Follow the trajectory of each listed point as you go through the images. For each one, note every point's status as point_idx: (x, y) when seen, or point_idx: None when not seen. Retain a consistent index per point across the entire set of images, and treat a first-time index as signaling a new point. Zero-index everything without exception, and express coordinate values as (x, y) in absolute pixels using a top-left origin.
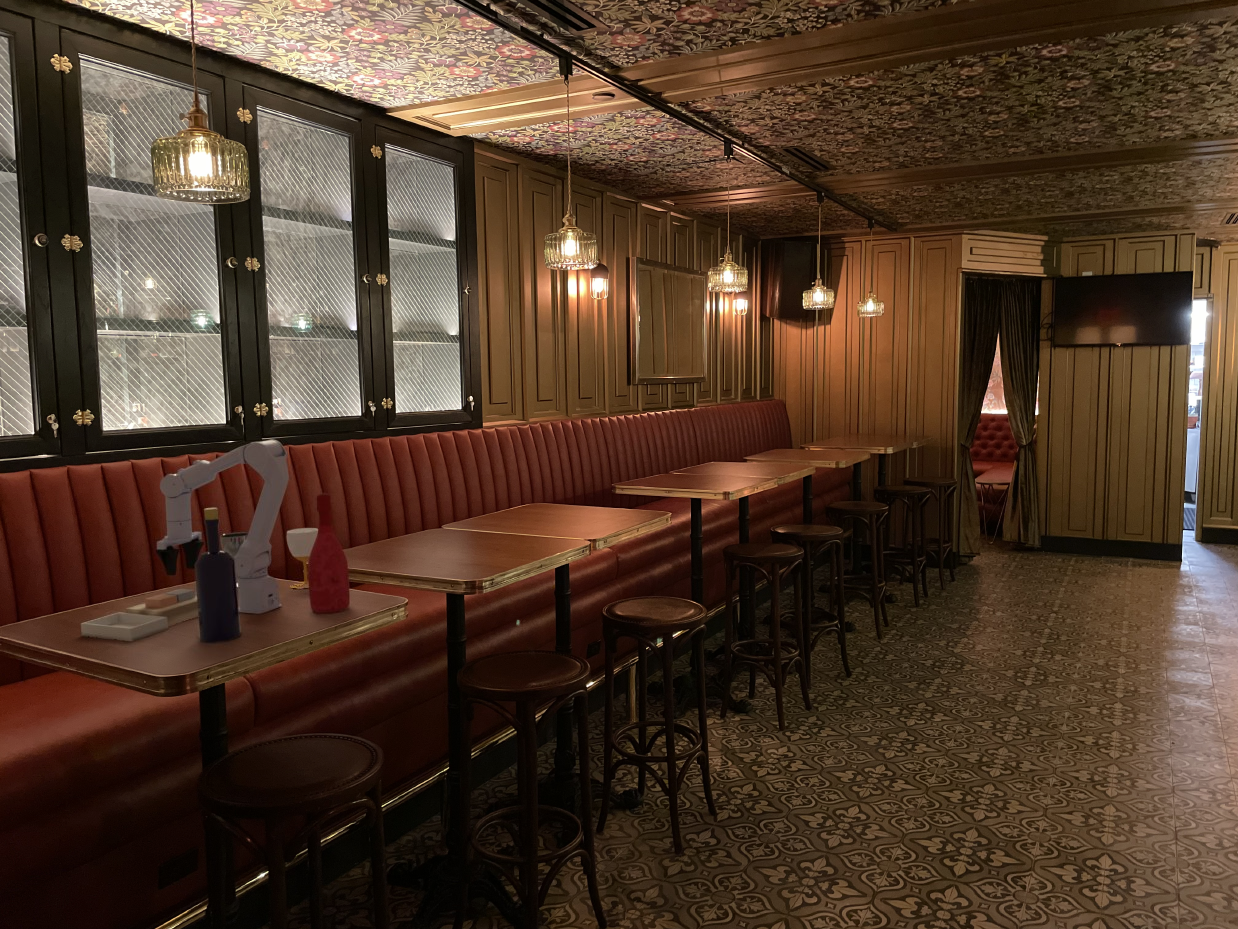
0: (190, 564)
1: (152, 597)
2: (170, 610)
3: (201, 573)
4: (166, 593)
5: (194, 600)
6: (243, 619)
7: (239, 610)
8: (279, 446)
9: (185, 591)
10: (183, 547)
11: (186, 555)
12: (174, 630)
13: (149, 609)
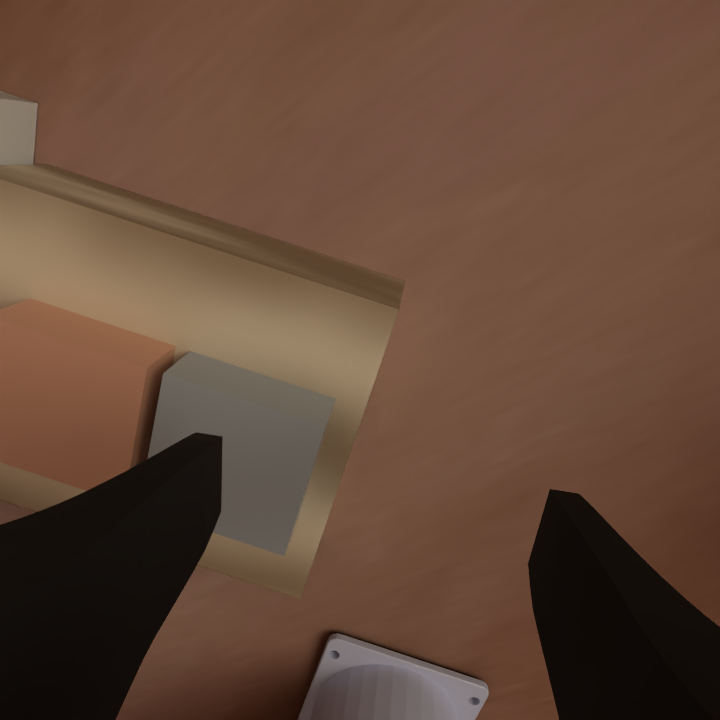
0: (550, 566)
1: (33, 355)
2: (14, 499)
3: None
4: (164, 399)
5: (221, 548)
6: (209, 712)
7: (315, 677)
8: None
9: (236, 513)
10: (690, 718)
11: (608, 619)
12: (3, 504)
13: None
